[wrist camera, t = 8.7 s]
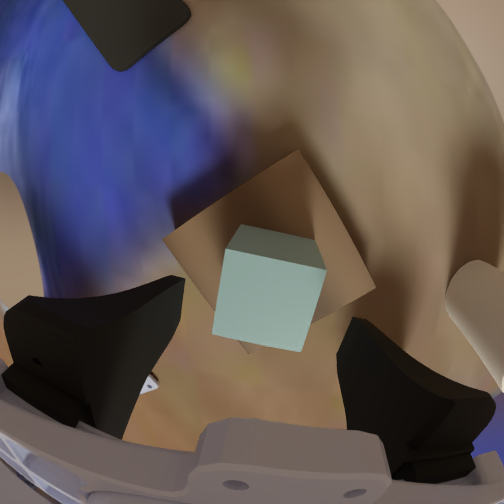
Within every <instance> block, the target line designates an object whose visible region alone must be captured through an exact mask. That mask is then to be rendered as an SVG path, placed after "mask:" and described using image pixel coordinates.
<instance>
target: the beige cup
mask: <svg viewBox="0 0 504 504" xmlns="http://www.w3.org/2000/svg"><path fill="white" fill-rule="evenodd" d="M445 307H446V310H447V314H448V315H449V316H450V317H451V319H452V320H453V321H454V322H455V324H456V325H457V326H458V328H459V329H460V330H461V332H462V333H463V334H464V336H465V337H466V339H467V340H468V341H469V343H470V344H471V345H472V347H473V348H474V350H475V351H476V353H477V354H478V355H479V357H480V358H481V360H482V361H483V363H484V364H485V366H486V367H487V369H488V370H489V372H490V373H491V375H492V376H493V378H494V380H495V381H496V383H497V384H498V386H499V387H500V389H501V391H502V392H503V393H504V272H503V271H501V270H499V269H497V268H496V267H494V266H492V265H490V264H488V263H487V262H484V261H481V260H474V261H470V262H468V263H466V264H465V265H464V266H462V267H461V268H459V270H458V271H457V272H456V274H455V275H454V276H453V278H452V279H451V281H450V283H449V286H448V288H447V291H446V296H445Z"/></svg>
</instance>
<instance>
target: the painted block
mask: <svg viewBox="0 0 504 504" xmlns="http://www.w3.org/2000/svg"><path fill="white" fill-rule="evenodd" d="M326 272H327V269H326V266H325V263H324V261H323V258H322V256H321V253H320V251H319V248H318V246H317V243H316V241H315V240H313V239H308V238H304V237H299V236H294V235H290V234H285V233H281V232H276V231H271V230H266V229H262V228H257V227H252V226H247V225H243V224H241V225H240V226H239V228H238V230H237V231H236V233H235V234H234V236H233V237H232V239H231V241H230V242H229V244H228V245H227V247H226V249H225V255H224V260H223V267H222V273H221V279H220V285H219V291H218V297H217V304H216V310H215V317H214V323H213V330H212V334H214V335H218V336H223V337H227V338H231V339H236V340H240V341H245V342H250V343H255V344H260V345H264V346H270V347H275V348H280V349H286V350H291V351H297V352H301V350H302V347H303V344H304V341H305V338H306V335H307V332H308V329H309V326H310V323H311V320H312V317H313V314H314V311H315V308H316V305H317V302H318V299H319V295H320V292H321V289H322V286H323V282H324V279H325V276H326Z"/></svg>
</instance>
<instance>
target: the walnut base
mask: <svg viewBox="0 0 504 504" xmlns="http://www.w3.org/2000/svg"><path fill="white" fill-rule="evenodd" d="M241 224H243V225H247V226H252V227H257V228H262V229H266V230H271V231H276V232H281V233H285V234H290V235H294V236H299V237H304V238H308V239H313V240H315V241H316V243H317V246H318V248H319V251H320V253H321V256H322V258H323V261H324V263H325V266H326V269H327V272H326V276H325V279H324V282H323V286H322V289H321V292H320V295H319V299H318V302H317V305H316V308H315V311H314V314H313V317H312V320H311V323H310V324H312V323H313V322H315V321H317V320H319V319H321V318H323V317H325V316H327V315H329V314H331V313H332V312H334V311H336V310H338V309H340V308H342V307H343V306H345V305H347V304H349V303H351V302H352V301H354V300H356V299H358V298H359V297H361V296H363V295H365V294H366V293H368V292H370V291H371V290H373V289H375V288H376V286H375V284H374V282H373V280H372V278H371V276H370V274H369V272H368V270H367V268H366V266H365V264H364V262H363V260H362V258H361V256H360V254H359V252H358V250H357V249H356V247H355V245H354V243H353V241H352V239H351V237H350V235H349V234H348V232H347V230H346V228H345V226H344V225H343V223H342V221H341V219H340V217H339V216H338V214H337V212H336V210H335V209H334V207H333V205H332V203H331V202H330V200H329V198H328V197H327V195H326V193H325V191H324V190H323V188H322V186H321V185H320V183H319V182H318V180H317V178H316V177H315V175H314V173H313V172H312V170H311V169H310V167H309V165H308V164H307V162H306V161H305V159H304V157H303V156H302V154H301V153H300V151H299V150H296V151H294V152H293V153H291V154H289V155H288V156H286V157H285V158H283V159H281V160H280V161H278V162H276V163H275V164H273V165H272V166H270V167H268V168H267V169H265V170H264V171H262V172H260V173H259V174H257V175H256V176H254V177H253V178H251V179H250V180H248V181H246V182H245V183H243V184H242V185H240V186H239V187H237V188H236V189H234V190H233V191H231V192H230V193H228V194H227V195H225V196H224V197H222V198H221V199H219V200H218V201H216V202H215V203H213V204H212V205H210V206H209V207H207V208H206V209H204V210H203V211H202V212H200V213H199V214H197V215H196V216H194V217H193V218H191V219H190V220H189V221H187V222H186V223H184V224H183V225H182V226H180V227H179V228H177V229H176V230H174V231H173V232H172V233H170V234H169V235H168V236H166V237H165V238H163V239H162V240H163V241H164V243H165V244H166V246H167V247H168V248H169V250H170V251H171V253H172V254H173V256H174V257H175V258H176V260H177V261H178V263H179V264H180V265H181V267H182V268H183V269H184V271H185V272H186V274H187V275H188V276H189V278H190V279H191V280H192V282H193V283H194V285H195V286H196V287H197V289H198V290H199V291H200V293H201V294H202V295H203V297H204V298H205V299H206V301H207V302H208V303H209V305H210V306H211V307H212V308H213V310H214V311H215V310H216V304H217V297H218V291H219V285H220V279H221V273H222V267H223V260H224V255H225V249H226V247H227V245H228V244H229V242H230V241H231V239H232V237H233V236H234V234H235V233H236V231H237V230H238V228H239V226H240V225H241ZM238 342H239V343H240V344H241V345H242V347H243V348H244V349H245V350H246V352H247V353H248V354H250V353H252V352H254V351H256V350H258V349H261V348H263V347H265V346H264V345H260V344H255V343H250V342H245V341H240V340H238Z"/></svg>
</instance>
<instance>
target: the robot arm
mask: <svg viewBox="0 0 504 504" xmlns="http://www.w3.org/2000/svg"><path fill="white" fill-rule="evenodd" d="M184 285H185V278H181V277H177V276H173V275H170V276H166V277H163V278H161V279H158V280H155V281H153V282H150V283H147V284H144V285H142V286H139V287H136V288H132V289H129V290H126V291H123V292H119V293H115V294H110V295H105V296H98V297H89V298H77V299H60V298H46V297H37V296H30V295H29V296H27V297H26V298H24V299H23V300H21V301H20V302H19V303H17V304H16V305H14V306H13V307H12V308H10V309H9V310H8V311H6V313H5V316H4V331H5V336H6V339H7V343H8V346H9V349H10V352H11V356H12V359H13V362H14V363H13V364H12V365H11V366H10V367H9V368H8V366H7V365H6V364H5V362H4V361H3V360H2V359H0V504H503V503H504V467H503V464H502V462H501V460H500V458H499V456H498V454H497V452H496V451H492V452H488V453H484V454H481V455H478V456H476V457H475V458H473V459H472V456H471V454H470V453H471V452H473V451H474V446H473V444H472V442H473V441H474V440H475V439H476V438H477V436H478V435H479V434H480V433H481V432H482V431H483V430H484V428H485V427H486V426H487V425H488V423H489V422H490V421H491V419H492V417H493V415H494V413H495V409H496V404H495V402H494V400H493V398H492V397H491V395H490V394H489V393H488V392H485V391H481V390H478V389H474V388H471V387H468V386H465V385H462V384H460V383H457V382H455V381H452V380H450V379H448V378H446V377H444V376H442V375H440V374H438V373H436V372H434V371H433V370H431V369H429V368H428V367H426V366H424V365H423V364H421V363H420V362H418V361H417V360H415V359H414V358H413V357H411V356H410V355H409V354H407V353H406V352H405V351H404V350H402V349H401V348H400V347H399V346H397V345H396V344H395V343H394V342H393V341H392V340H390V339H389V338H388V337H387V336H386V335H385V334H384V333H382V332H381V331H380V330H379V329H378V328H377V327H375V326H374V325H373V324H372V323H370V322H369V321H367V320H366V319H362V318H356V317H352V320H351V322H350V325H349V327H348V329H347V332H346V334H345V336H344V339H343V341H342V343H341V345H340V348H339V350H338V352H337V354H336V356H337V374H338V379H339V384H340V389H341V393H342V398H343V403H344V408H345V413H346V421H347V430H342V429H329V428H318V427H309V426H301V425H293V424H286V423H280V422H273V421H267V420H262V419H256V418H235V417H232V418H228V419H224V420H221V421H217V422H214V423H210V424H208V426H207V427H206V428H205V429H204V431H203V432H202V433H201V434H200V437H199V441H198V444H197V448H196V451H195V452H188V451H179V450H172V449H165V448H158V447H152V446H146V445H141V444H135V443H130V442H126V441H123V440H122V437H123V434H124V432H125V429H126V426H127V424H128V421H129V418H130V416H131V413H132V411H133V409H134V406H135V404H136V401H137V399H138V397H139V394H142V393H145V392H148V391H151V390H154V389H157V388H158V386H159V383H158V382H157V381H156V380H155V379H154V377H153V376H152V375H151V374H150V372H151V370H152V369H153V367H154V366H155V364H156V363H157V361H158V359H159V358H160V356H161V355H162V353H163V352H164V350H165V348H166V347H167V345H168V344H169V342H170V341H171V339H172V337H173V335H174V333H175V331H176V328H177V326H178V324H179V322H180V318H181V309H182V301H183V293H184ZM150 385H151V386H150Z"/></svg>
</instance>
